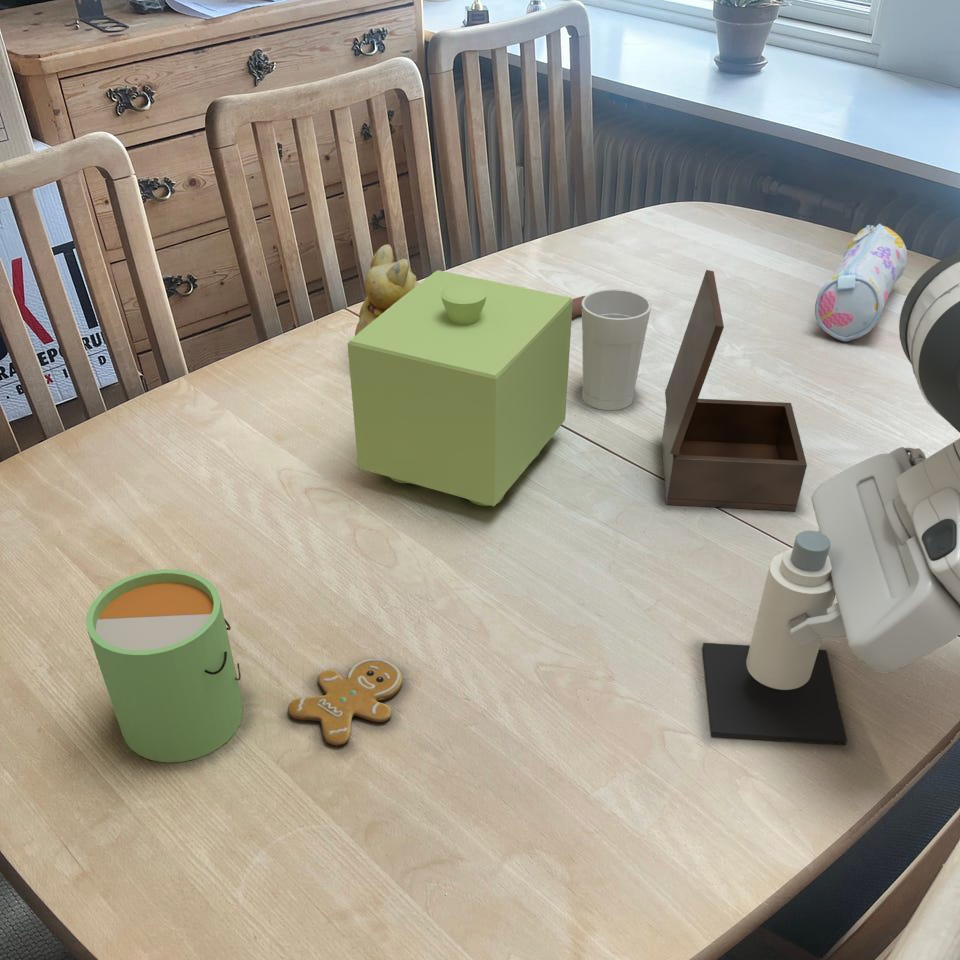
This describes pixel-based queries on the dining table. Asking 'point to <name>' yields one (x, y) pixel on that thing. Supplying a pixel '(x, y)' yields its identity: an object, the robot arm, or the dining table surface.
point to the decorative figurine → (384, 285)
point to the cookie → (350, 698)
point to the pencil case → (861, 283)
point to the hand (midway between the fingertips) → (787, 607)
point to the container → (460, 384)
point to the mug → (167, 664)
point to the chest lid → (693, 361)
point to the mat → (769, 701)
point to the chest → (736, 457)
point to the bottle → (791, 612)
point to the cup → (612, 346)
